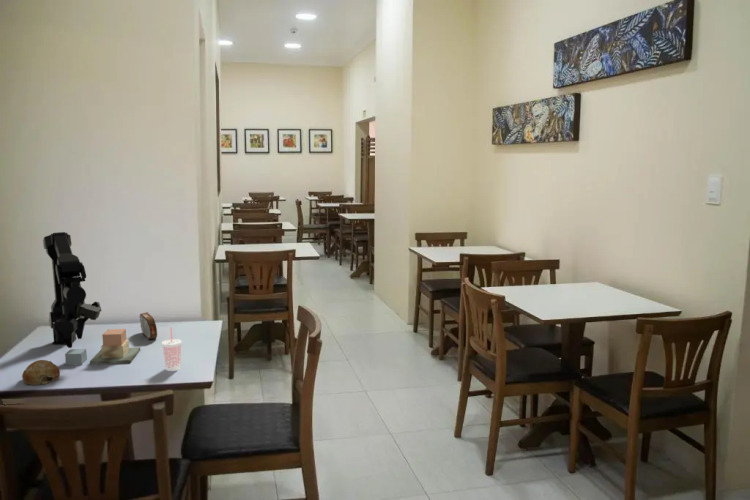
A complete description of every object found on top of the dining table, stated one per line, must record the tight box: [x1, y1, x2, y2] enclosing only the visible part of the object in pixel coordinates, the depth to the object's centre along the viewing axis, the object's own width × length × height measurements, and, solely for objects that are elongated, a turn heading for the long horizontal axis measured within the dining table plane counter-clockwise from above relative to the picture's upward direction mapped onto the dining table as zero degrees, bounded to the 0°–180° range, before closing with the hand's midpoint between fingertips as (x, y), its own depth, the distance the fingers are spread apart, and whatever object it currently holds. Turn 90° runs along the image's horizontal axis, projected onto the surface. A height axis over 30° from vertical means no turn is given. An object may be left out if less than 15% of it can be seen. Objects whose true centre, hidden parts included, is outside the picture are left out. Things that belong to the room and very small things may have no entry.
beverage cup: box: [161, 326, 182, 372], centre depth 200 cm, size 6×6×14 cm
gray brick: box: [64, 348, 88, 366], centre depth 206 cm, size 5×5×4 cm
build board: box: [89, 339, 141, 365], centre depth 211 cm, size 13×13×5 cm
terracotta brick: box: [101, 328, 128, 346], centre depth 210 cm, size 6×6×4 cm
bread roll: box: [21, 359, 61, 386], centre depth 191 cm, size 10×10×8 cm
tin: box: [139, 311, 158, 340], centre depth 234 cm, size 15×3×8 cm, turn 34°
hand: (75, 343), depth 205 cm, fingers open, 9 cm apart
